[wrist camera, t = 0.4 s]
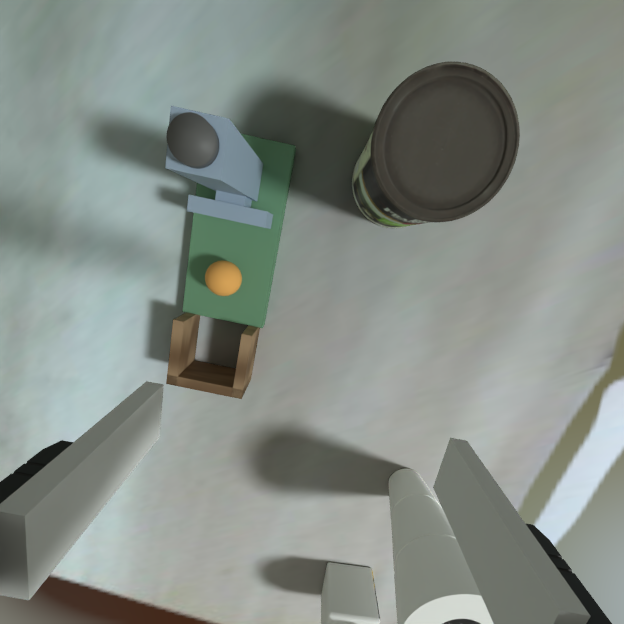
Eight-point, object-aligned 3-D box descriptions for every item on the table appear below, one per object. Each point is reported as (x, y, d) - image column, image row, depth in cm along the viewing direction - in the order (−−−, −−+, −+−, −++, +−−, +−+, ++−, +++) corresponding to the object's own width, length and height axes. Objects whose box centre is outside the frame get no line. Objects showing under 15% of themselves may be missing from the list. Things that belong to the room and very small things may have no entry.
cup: (428, 519, 46) (495, 692, 28) (359, 504, 46) (383, 669, 28) (453, 460, 44) (542, 609, 26) (380, 443, 43) (420, 582, 26)
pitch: (208, 130, 35) (203, 125, 33) (295, 149, 35) (294, 145, 33) (187, 308, 39) (182, 311, 38) (264, 324, 40) (262, 328, 38)
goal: (191, 309, 39) (173, 319, 35) (260, 324, 40) (252, 335, 35) (184, 366, 41) (166, 383, 36) (250, 380, 41) (241, 398, 37)
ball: (214, 256, 36) (201, 258, 32) (247, 263, 36) (239, 266, 32) (210, 289, 37) (197, 294, 33) (242, 295, 37) (233, 302, 33)
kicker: (209, 151, 34) (133, 92, 20) (281, 167, 34) (254, 119, 20) (201, 214, 35) (126, 198, 21) (270, 229, 35) (239, 222, 22)
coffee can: (438, 228, 36) (509, 222, 23) (350, 228, 37) (368, 221, 23) (447, 131, 34) (532, 59, 20) (353, 132, 34) (375, 61, 21)
